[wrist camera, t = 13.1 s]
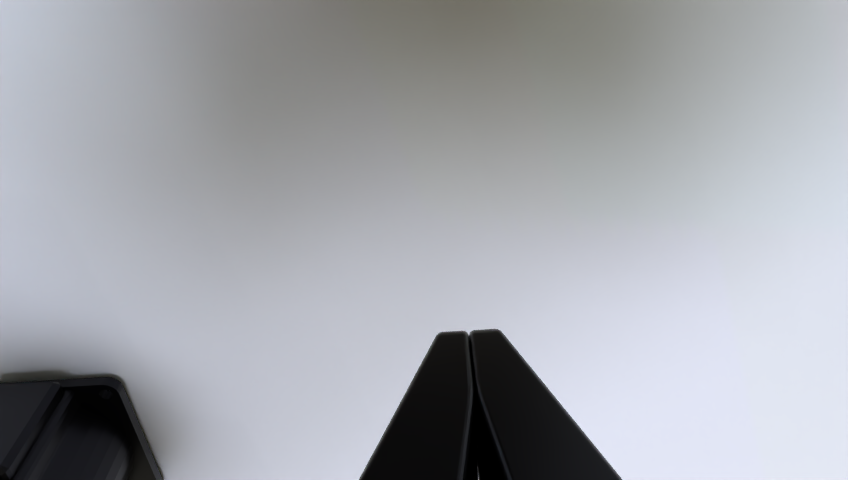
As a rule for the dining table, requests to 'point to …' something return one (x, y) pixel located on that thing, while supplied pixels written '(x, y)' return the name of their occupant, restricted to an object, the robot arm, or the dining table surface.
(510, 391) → the robot arm
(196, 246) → the dining table surface
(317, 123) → the dining table surface
